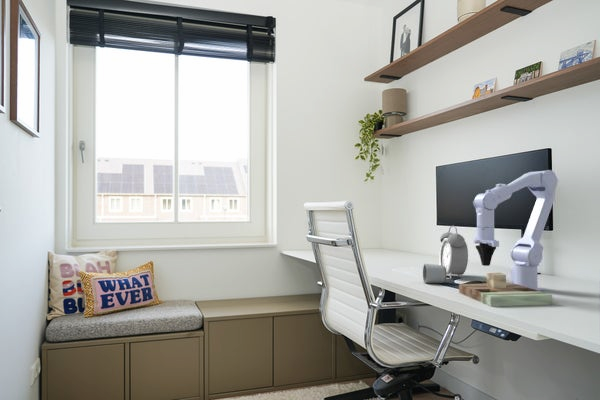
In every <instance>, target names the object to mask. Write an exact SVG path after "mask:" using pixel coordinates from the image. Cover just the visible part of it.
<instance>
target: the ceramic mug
mask: <svg viewBox="0 0 600 400" xmlns="http://www.w3.org/2000/svg"><path fill="white" fill-rule="evenodd" d="M422 267H423V268H422V282H423V283H424V284H445V283H446V281H447V275H448V274H447V271H446V267H445V266H443V265H440V264H433V263H424V264H423V266H422Z"/></svg>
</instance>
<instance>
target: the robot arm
mask: <svg viewBox="0 0 600 400" xmlns="http://www.w3.org/2000/svg"><path fill="white" fill-rule="evenodd" d="M558 183H559V179H558V177H557V175H556V173H555V171H553V170H552V169H546V170H540V171H539V170H538V171H529V172H527V173H524V174H522V175H521V176H519V177H518V178H515V180H513V181H511V182H510V183H508V184H506V183H498V184H495V187H493V188H491V189H487V190H485V192H484V193H478V194H477V195H476V196H475V198H474V200H473V201H472V204H473V207H474V208H475V213H476V237H474V238H473V244H478V245H475V249H476V250H477V253H478V255H479V258H480V262H481V265H482V266H485V267H486V266H487V267H488V266H489V267H490V265H491V262H492V259H493V256H494V252H495V250H496V249H497V247H498V248H499V247H500V241H499V240H497V239H495V210H496V208H497V207H498V205H500V204H501V203H502V202H503V203H504V202H505V201H506V200H509V199H510V198H511V197H512V195H513V193H515V192H517V191H520V190H521V189H523V188H525V187H527V189H529V191H530V192H531V193H532V194H533V195H534V196H535V197H536V201H535V204H534V206H533V209H532V211H531V214H530V216H529V217H530V218H529V219H528V223H527V225H526V228H525V230H524V234H523V237H521V238H519V239H518V240H517V241H516V242H515V245H514V246H513V247H512V248H511V250H510V258H511V260H512V261H513V265H512V266H511V268H510V283H515V284H518V285H521V286H525V287H528V288H531V289H535V290H538V291H541V292H543V291H544V289H543V288H540V287H538V266H539V265H540V264H541V262H542V259H543V251H544V246H543V245H542V243H541V242H540V240H541V238H542V235H543V231H544V229H545V226H546V224H547V222H548V218H549V214H550V213H551V210H552V207H553V204H554V201H555V198H556V188H557V185H558Z"/></svg>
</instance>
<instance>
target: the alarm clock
mask: <svg viewBox="0 0 600 400" xmlns="http://www.w3.org/2000/svg"><path fill="white" fill-rule="evenodd" d="M451 228H454V229H455V233H453V232H451ZM448 229H449V230H448V231H447V232H444V233H442V234H441V236H440V239H439V241H440V243H441V244H440V248H439V252H438V254H439V255H438V262H439V263H438V265H443V266H445V267H446V271H447V275H448V276H449V279H450V280H451V279H452V275H456V276H457V277H460V276H463V275H464V274H465V272H466V270H467V266H468V262H469V250H468V244H467V242H466V241H465V237H463V235H461V234H460V233H458V229H457V227H456V226H455V225H450V227H449V228H448Z"/></svg>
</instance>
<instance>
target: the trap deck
mask: <svg viewBox="0 0 600 400" xmlns="http://www.w3.org/2000/svg"><path fill="white" fill-rule="evenodd" d="M458 293H460V294H461V295H463V296H466V297H468V298H470V299H473V300H475V301H478V302H479V303H483V304H485V305H487V306H489V307H508V306H509V307H513V306H546V305H547V306H548V305H553V294H551V293H549V292H548V293H547V292H543V291H538V290H535V289H531V288H528V287H525V286H521V285H518V284H515V283H511V282H506V288H491V287H488V286H487V282H486V283H458Z"/></svg>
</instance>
